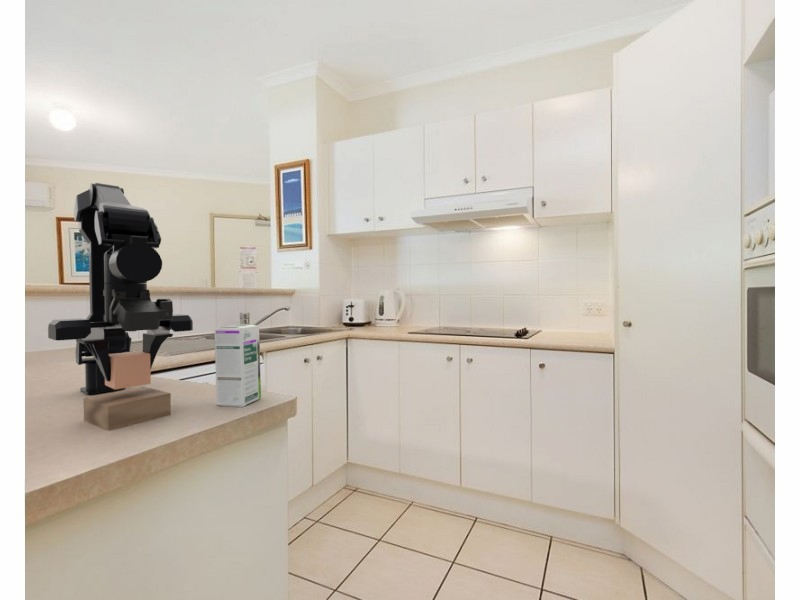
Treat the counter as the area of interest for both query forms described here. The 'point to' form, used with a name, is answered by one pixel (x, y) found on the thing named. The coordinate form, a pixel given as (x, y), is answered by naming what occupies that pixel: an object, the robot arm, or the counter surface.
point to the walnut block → (126, 407)
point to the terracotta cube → (129, 369)
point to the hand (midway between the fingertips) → (127, 378)
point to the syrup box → (237, 365)
